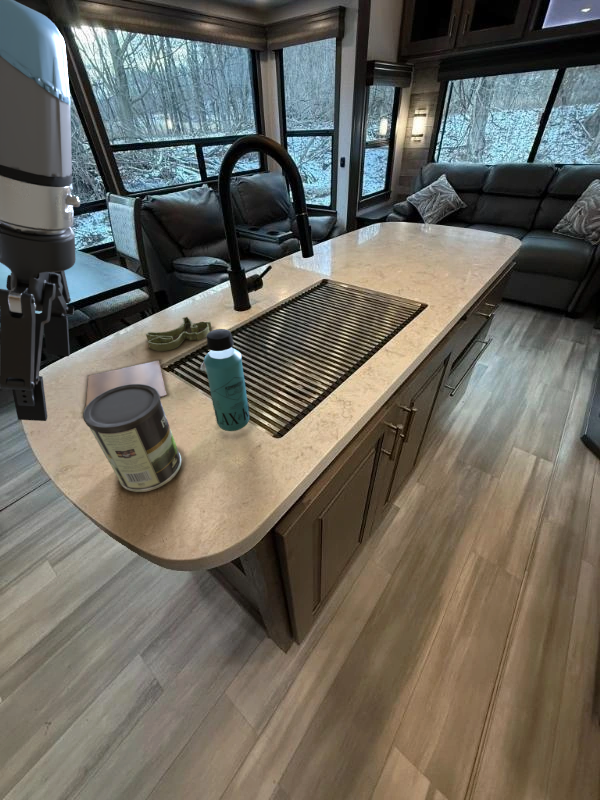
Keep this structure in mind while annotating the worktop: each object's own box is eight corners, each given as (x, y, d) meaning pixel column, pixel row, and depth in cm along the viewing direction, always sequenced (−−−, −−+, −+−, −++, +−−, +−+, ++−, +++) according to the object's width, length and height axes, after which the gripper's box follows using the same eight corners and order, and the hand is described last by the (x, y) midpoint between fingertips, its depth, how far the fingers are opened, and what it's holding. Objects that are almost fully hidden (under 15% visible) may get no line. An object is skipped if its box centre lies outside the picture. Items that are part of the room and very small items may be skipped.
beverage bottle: (210, 429, 64) (187, 336, 52) (234, 410, 68) (218, 320, 56) (235, 442, 61) (217, 347, 49) (258, 422, 65) (247, 330, 53)
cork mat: (85, 416, 68) (85, 415, 67) (88, 376, 79) (88, 375, 79) (166, 395, 73) (166, 395, 73) (158, 360, 84) (158, 360, 84)
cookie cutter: (192, 320, 103) (191, 314, 101) (218, 330, 97) (217, 324, 96) (140, 342, 92) (137, 336, 90) (165, 356, 86) (163, 349, 85)
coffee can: (171, 437, 62) (149, 375, 54) (190, 473, 56) (168, 409, 47) (112, 461, 58) (78, 398, 49) (125, 503, 51) (88, 439, 42)
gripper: (42, 282, 26) (59, 455, 38) (92, 199, 43) (93, 337, 55) (-94, 255, 23) (-27, 454, 35) (19, 177, 40) (37, 329, 52)
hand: (47, 382), depth 45 cm, fingers open, 13 cm apart
